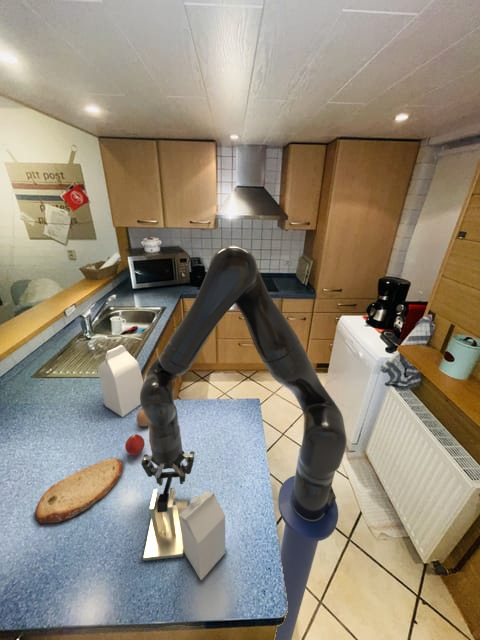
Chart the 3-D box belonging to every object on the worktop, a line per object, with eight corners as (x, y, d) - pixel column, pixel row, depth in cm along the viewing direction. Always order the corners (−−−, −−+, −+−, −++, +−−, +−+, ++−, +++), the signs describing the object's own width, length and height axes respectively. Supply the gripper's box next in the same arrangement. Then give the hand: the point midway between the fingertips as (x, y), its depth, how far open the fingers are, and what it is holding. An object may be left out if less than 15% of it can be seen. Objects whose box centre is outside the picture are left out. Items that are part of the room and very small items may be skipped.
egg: (154, 426, 93) (151, 412, 90) (138, 432, 91) (136, 417, 88) (151, 416, 98) (149, 403, 95) (137, 421, 95) (134, 407, 93)
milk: (122, 417, 97) (109, 360, 87) (104, 405, 103) (90, 351, 92) (147, 399, 107) (138, 346, 96) (130, 389, 112) (120, 338, 101)
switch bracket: (154, 505, 69) (148, 474, 64) (187, 502, 70) (184, 471, 65) (143, 560, 58) (135, 529, 53) (182, 556, 59) (178, 525, 54)
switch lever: (162, 477, 70) (162, 469, 70) (180, 476, 70) (180, 468, 70) (151, 513, 58) (150, 503, 58) (173, 511, 58) (172, 501, 58)
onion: (124, 452, 83) (120, 435, 80) (140, 442, 87) (137, 425, 84) (131, 464, 80) (127, 446, 76) (148, 452, 84) (145, 435, 80)
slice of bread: (127, 461, 80) (125, 453, 79) (96, 526, 64) (93, 518, 63) (72, 459, 81) (69, 451, 79) (27, 523, 64) (22, 515, 63)
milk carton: (225, 553, 60) (225, 504, 52) (201, 581, 55) (196, 532, 47) (207, 527, 64) (204, 480, 57) (183, 551, 60) (176, 503, 52)
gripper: (195, 425, 68) (198, 467, 75) (140, 428, 66) (148, 470, 73) (193, 450, 61) (196, 493, 68) (132, 453, 59) (141, 497, 66)
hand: (171, 481), depth 70 cm, fingers closed on switch lever, 5 cm apart
